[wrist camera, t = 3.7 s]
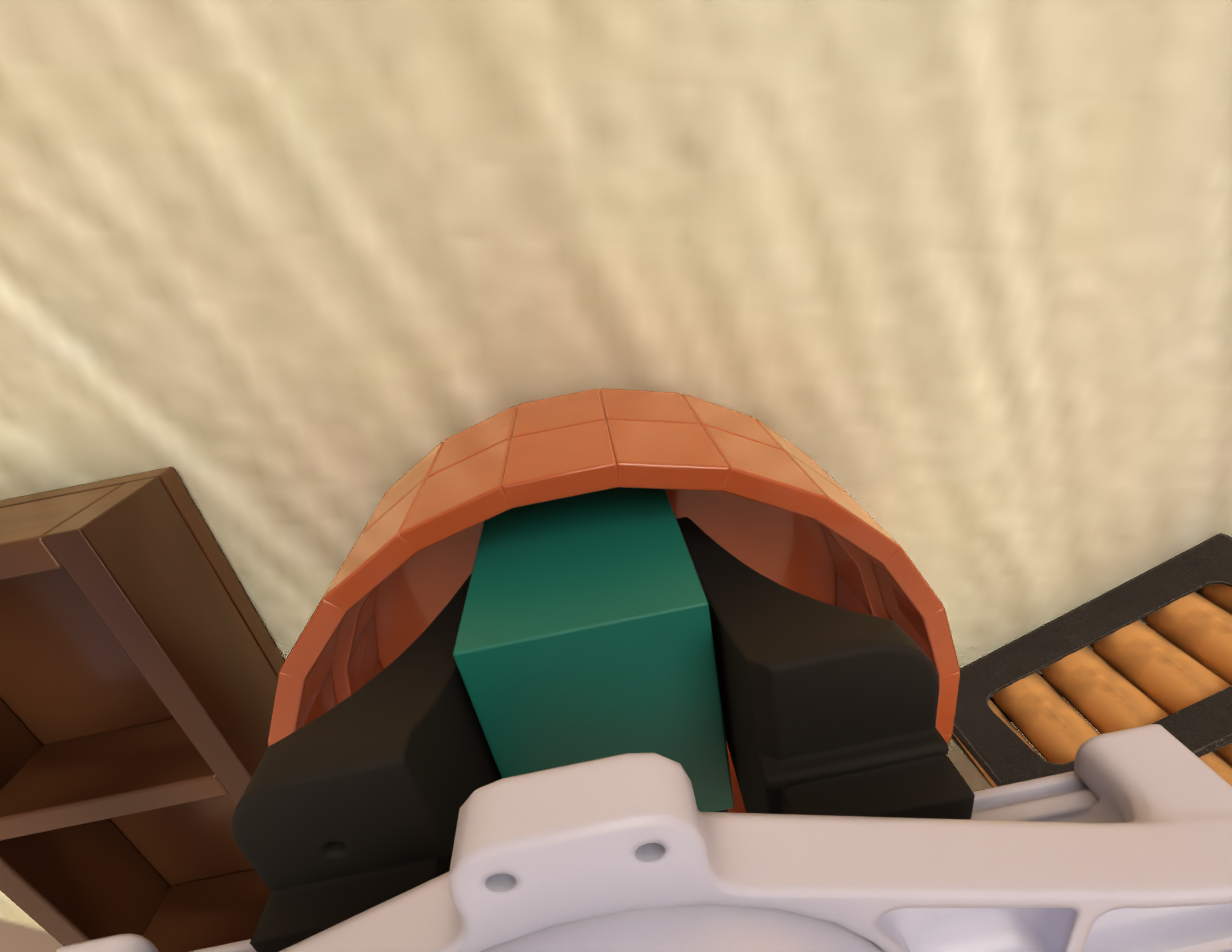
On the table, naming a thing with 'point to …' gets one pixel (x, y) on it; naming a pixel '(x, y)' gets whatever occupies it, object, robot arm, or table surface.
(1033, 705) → the ammunition clip
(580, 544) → the green rectangular block
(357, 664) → the bowl
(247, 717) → the holder
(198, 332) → the table surface
